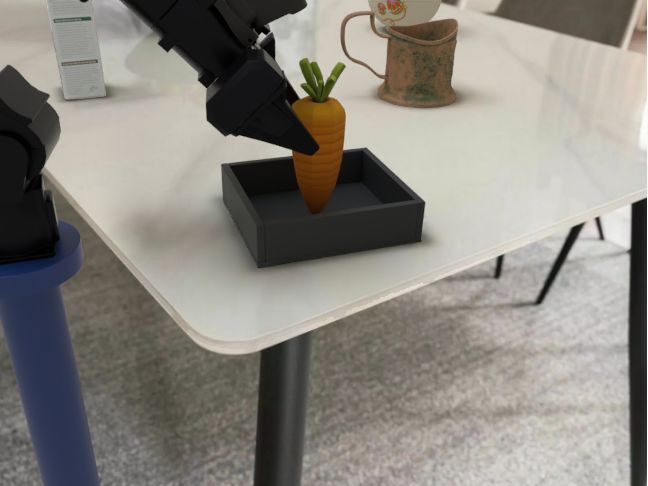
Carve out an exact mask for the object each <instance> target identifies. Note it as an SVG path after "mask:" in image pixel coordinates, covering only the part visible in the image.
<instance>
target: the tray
mask: <svg viewBox="0 0 648 486" xmlns="http://www.w3.org/2000/svg"><path fill="white" fill-rule="evenodd" d="M220 169H221V170H220V171H221V172H220V173H221V188H222V189H221V192H222V201H223V203H224V205H225V207H226V210H227V211H228V213H229V215H230V216H231V219H232V221H233V223H234V225H235V226H236V228H237V231H238V232H239V234H240V236H241V238H242V240H243V243H244V244H245V246H246V248H247V250H248V252H249V254H250V255H251V257H252V259H253V261H254V263H255V266H256V267H257V268H264V267H265V268H266V267H271V266H277V265H282V264H289V263H295V262H301V261H307V260H313V259H320V258H325V257H326V258H327V257H330V256H331V257H332V256H338V255H344V254H350V253H356V252H361V251H362V252H363V251H369V250H375V249H381V248H387V247H393V246H399V245H400V246H401V245H405V244H411V243H418V242H422V235H423V226H424V221H425V220H424V218H425V211H426V210H425V209H426V201H425V200H424V199H423V198H422V197H421V196H420V195H419V194H417V192H415V191H414V190H413V189H412V188H411V187H410V186H409V185H408V184H407V183H406V182H404V180H402V178H400V177H399V176H398V175H397V174H396V173H395V172H394V171H392V170H391V169H390V168H389V167H388V166H387V165H386V164H385V163H384V162H383V161H381V159H380V158H378V156H376V154H374V152H372V151H371V150H370V149H369V148H368V147H358V148H349V149H343V156H342V161H341V166H340V170H339V174H338V178H337V182H336V185H335V188H334V190H333V193H332V195H331V197H330V199H329V201H328V202H327V204H326V206H325V207H324V209H323V210H322V212H320V213H319V214H312V213H311V212H310V210H309V209H308V207H307V205H306V203H305V201H304V198H303V196H302V193H301V191H300V188H299V185H298V182H297V177H296V172H295V167H294V161H293V155H288V156H287V155H286V156H278V157H269V158H260V159H251V160H244V161H243V160H242V161H234V162H226V163H224V162H223V163H221V164H220Z"/></svg>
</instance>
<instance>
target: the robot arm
mask: <svg viewBox="0 0 648 486" xmlns="http://www.w3.org/2000/svg"><path fill="white" fill-rule="evenodd" d="M79 1H80V2H83V3H86V2H87V1H88V0H79ZM119 2H121V4H123V6H125V7H126V8H127V9H128V10H129V11H130V12H132V14H134V15H135V16H136V17H137V18H138V19H139V20H140V21H141V22H143V24H144V25H146V27H148V28H149V29H150V30H151V31H152V32H153V33H154V35H156V36H158V40H157V45H158V46H159V47H160V48H161V49H162V50H164V51H165V52H166V53H167V54H168V53H169V52H170V51H171V50H172V51H174V52H175V53H176V54H177V55H178V56H179V57H180V58H181V59H182V60H184V61H185V62H186V63H187V64H188V66H190V67H191V68H192V69H193V70H194V71H195V72H196V73H197V82H199V84H201V85H202V86H203V87H204V88H205V90H206V91H205V113H206V114H205V117H206V121H207V122H208V123H209V124H210V125H211V126H212V127H213V128H214V129H215V130H217V131H218V132H219V133H220V134H221V135H222V136H224V137H228V136H230V135H231V136H233V137H235V138H237V137H239V136H240V137H244V138H248V139H251V140H255V141H260V142H263V143H266V144H270V145H273V146H277V147H279V148H284V149H286V150H290V151H292V150H293V151H296V152H299V153H302V154H305V155H309V156H312V155H314V154H315V153H316V152H317V151H318V150H319V148H320V147H319V144H318V143H317V142H316V140H315V139H314V137H313V136H312V134H311V133H310V132H309V130H308V129H307V128H306V126H305V125H304V123H303V122H302V121H301V119H300V118H299V117H298V115H297V114H296V112H295V111H294V110H293V108H292V104H293V103H295V102H296V101H297V100H299V99H301V97H300V96H299V94H298V93H297V91H296V90H295V88H294V87H293V84H292V83H291V82H290V81H289V79H288V77H287V76H286V73H285V70H284V69H282V68H281V66H280V65H279V63H278V61H277V60H276V38H275V34H274V32H273V31H272V30H271V26H270V24H271V23H273V22H275V21H277V20H279V19H282V18H283V17H285V16H287V15H293V16H294V15H295V14H298V13H299V12H301V11H303V10H304V9H306V8H307V7H308V2H307V0H119ZM261 34H263V35H265V37H264V38H263V39H262V40H261V41H260V40H259V38H260V36H261ZM50 97H51V95H50V94H49V93H48V92H44V91H42V90H39V88H37V87H35V86H34V85H32V84H31V83H30V82H29V81H28V80H27V79H26V78H25V77H24V76H23V75H22V74H21V72H20V71H19V70H17V68H15V67H14V66H13V65H11V64H7V65H5V66H4V67H3V68H2V70H0V265H4V264H11V263H18V262H25V261H31V260H38V259H45V258H51V257H54V256H55V255H56V242H58V241H59V240H60V230H59V223H58V220H59V218H58V213H57V207H56V202H55V197H54V191H53V190H52V189H46V187H45V186H46V185H45V182H44V177H43V174H42V173H41V172H42V170H43V169H44V167H45V166H46V164H47V162H48V160H49V159H50V157H51V155H52V154H53V152H54V150H55V149H56V147H57V144H58V143H59V140H60V138H61V134H62V133H61V132H62V128H61V121H60V116H59V114H58V112H57V111H56V109H55V108H54V106H52V104H50V103H49V102H48V100H49V99H50Z"/></svg>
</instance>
